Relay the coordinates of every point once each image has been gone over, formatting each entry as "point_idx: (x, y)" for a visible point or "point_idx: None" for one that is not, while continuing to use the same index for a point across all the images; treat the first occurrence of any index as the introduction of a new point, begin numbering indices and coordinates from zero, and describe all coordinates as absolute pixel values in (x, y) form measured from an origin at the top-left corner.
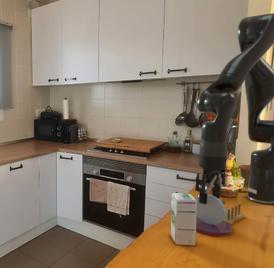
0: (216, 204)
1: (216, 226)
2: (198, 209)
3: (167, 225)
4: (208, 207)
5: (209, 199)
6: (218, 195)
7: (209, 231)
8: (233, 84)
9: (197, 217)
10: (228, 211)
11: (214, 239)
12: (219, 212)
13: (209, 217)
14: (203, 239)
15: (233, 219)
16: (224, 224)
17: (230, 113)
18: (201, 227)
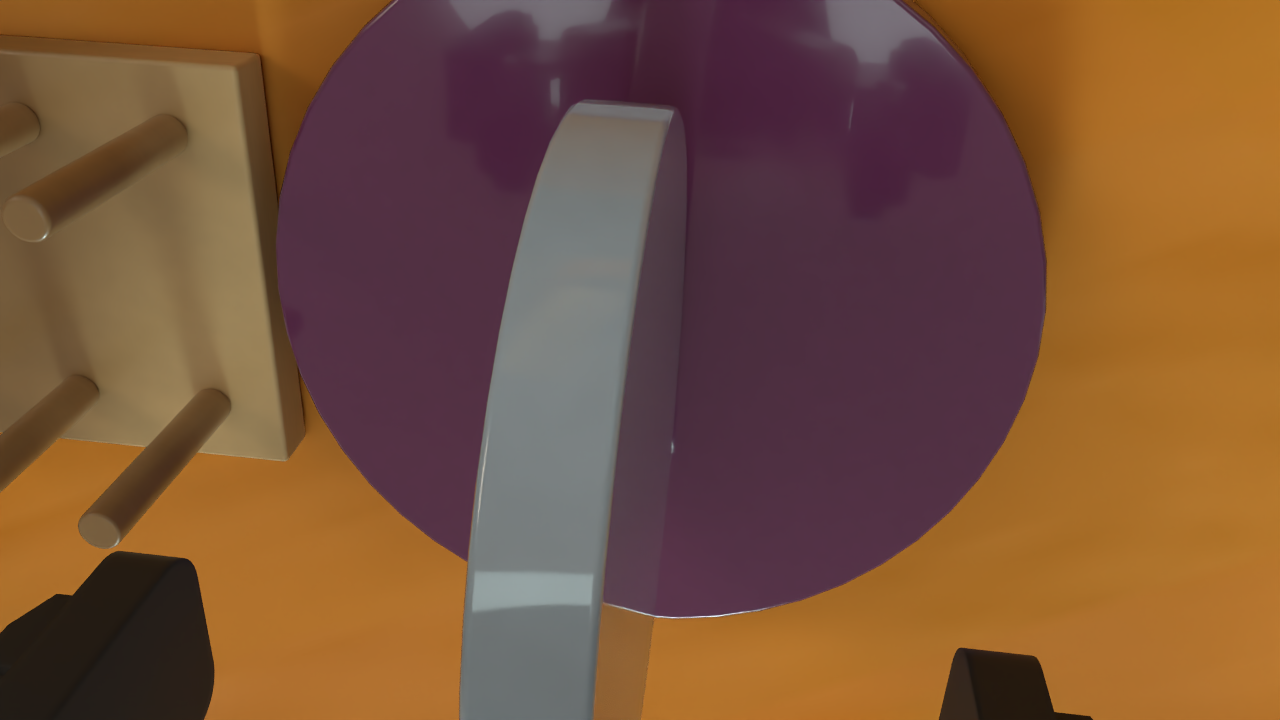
0: (628, 455)
1: None
2: (646, 626)
3: (1126, 696)
4: (638, 533)
5: (609, 696)
6: (134, 633)
7: (1010, 176)
8: None
9: None
10: (75, 204)
11: (1125, 16)
12: (656, 262)
13: (671, 366)
14: (1272, 151)
15: (45, 79)
16: (445, 104)
17: None
18: (942, 334)
